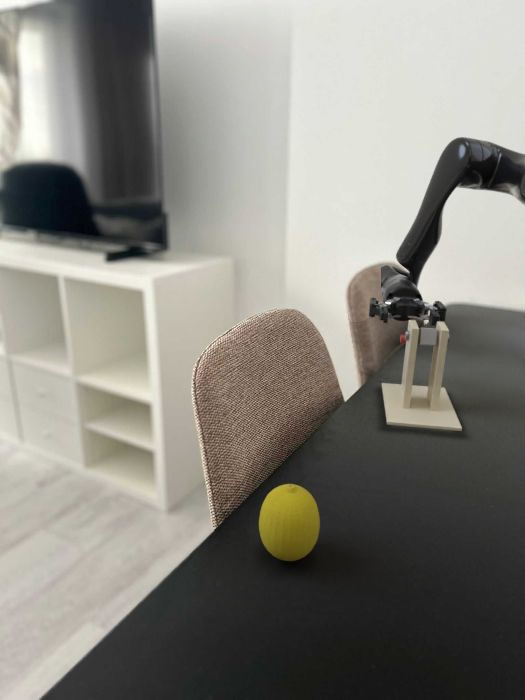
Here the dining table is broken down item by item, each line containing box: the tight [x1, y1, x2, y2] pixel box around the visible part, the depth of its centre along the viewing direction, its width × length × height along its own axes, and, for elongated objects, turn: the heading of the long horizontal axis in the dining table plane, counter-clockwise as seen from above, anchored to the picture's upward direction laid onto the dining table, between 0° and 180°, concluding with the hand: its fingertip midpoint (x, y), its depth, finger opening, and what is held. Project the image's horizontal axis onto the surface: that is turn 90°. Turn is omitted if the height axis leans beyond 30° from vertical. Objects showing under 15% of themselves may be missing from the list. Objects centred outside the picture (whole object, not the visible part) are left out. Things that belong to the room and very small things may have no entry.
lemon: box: [258, 483, 321, 562], centre depth 47 cm, size 6×6×8 cm
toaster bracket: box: [381, 319, 463, 432], centre depth 75 cm, size 14×10×14 cm
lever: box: [399, 327, 437, 347], centre depth 78 cm, size 12×5×2 cm, turn 170°
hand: (410, 319), depth 93 cm, fingers open, 8 cm apart
